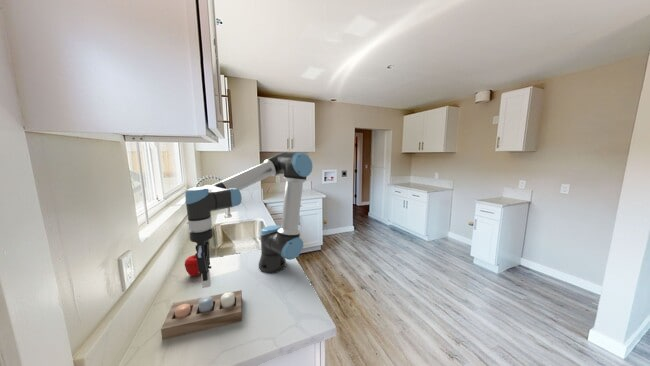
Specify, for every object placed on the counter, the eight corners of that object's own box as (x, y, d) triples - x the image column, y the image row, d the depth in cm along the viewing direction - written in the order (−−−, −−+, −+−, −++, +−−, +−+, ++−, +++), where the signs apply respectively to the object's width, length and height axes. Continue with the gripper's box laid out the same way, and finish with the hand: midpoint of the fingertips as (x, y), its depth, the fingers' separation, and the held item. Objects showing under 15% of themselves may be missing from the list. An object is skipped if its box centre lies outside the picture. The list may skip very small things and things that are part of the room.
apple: (210, 272, 120) (209, 253, 119) (193, 281, 112) (191, 261, 110) (199, 267, 125) (197, 249, 123) (181, 276, 116) (179, 256, 115)
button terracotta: (177, 316, 88) (176, 305, 87) (192, 313, 89) (191, 302, 89) (174, 326, 83) (172, 314, 82) (189, 322, 85) (188, 311, 84)
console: (174, 311, 91) (173, 303, 91) (241, 298, 100) (241, 290, 99) (162, 339, 78) (160, 329, 78) (241, 320, 87) (240, 311, 86)
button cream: (222, 304, 93) (221, 293, 92) (235, 301, 94) (234, 291, 94) (221, 312, 88) (220, 301, 87) (234, 309, 90) (234, 298, 89)
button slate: (200, 309, 90) (199, 297, 89) (214, 306, 92) (213, 295, 91) (198, 317, 86) (197, 305, 85) (212, 314, 87) (211, 303, 86)
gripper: (193, 224, 89) (199, 278, 93) (184, 236, 76) (191, 298, 80) (214, 222, 91) (219, 275, 95) (208, 234, 79) (214, 294, 83)
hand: (206, 286), depth 88 cm, fingers closed
